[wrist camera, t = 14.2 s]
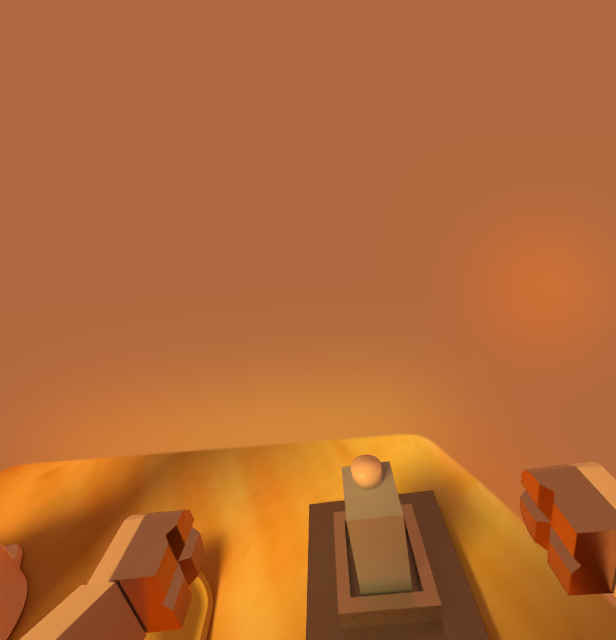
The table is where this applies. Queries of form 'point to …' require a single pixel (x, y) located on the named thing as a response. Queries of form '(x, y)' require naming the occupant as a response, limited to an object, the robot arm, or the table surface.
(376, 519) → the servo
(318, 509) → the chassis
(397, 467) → the table surface
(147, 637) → the plastic component
